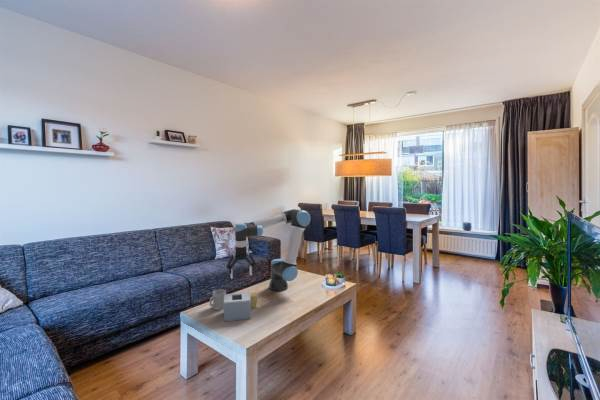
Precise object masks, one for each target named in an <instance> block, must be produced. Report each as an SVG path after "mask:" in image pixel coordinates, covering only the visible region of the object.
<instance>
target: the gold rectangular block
mask: <svg viewBox="0 0 600 400" xmlns="http://www.w3.org/2000/svg"><path fill="white" fill-rule="evenodd" d="M249 294H250V309H253V308H257V307H258V306H257V299H258V298H257V297H258V296H257V293H256V292H249Z"/></svg>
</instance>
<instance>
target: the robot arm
mask: <svg viewBox="0 0 600 400" xmlns="http://www.w3.org/2000/svg"><path fill="white" fill-rule="evenodd" d="M310 223H311V215H310V213H309V212H308V211H306V210H303V209H296V208H294V209H289V210H285V211H282V212H280V213H279V214H275V215H272V216H270V217H269V216H268V217H264V218H262V219H258V220H254V221H251V222H243V223H237V224H235V225H234V240H235V241H234V242H235V244H234V245H235V247H234V248H235V253H231V254H230V258H229V260H228V262H227V264H226V266H225V268H226V269H228V273H229V274H230V279H231V280H232V279H233V273H234V272H233V268H234V266H235V265H236V263H237V262H238V261H242V260H243V261H244V260H245V261H247V263H248V264H249V276H250V277H251V276H253V271H254V266H256V264H257V263H256V262H255V259H254V257H253V256H252V252H250V251H248V252H247V238H251V237H260V236H262V235H263V233H264V229H268V228H271V227H275V226H279V225H282V224H283V225H286V224H290V227H291V232H290V235H289V239H288V244H287V248H286V252H285V256H284V258H274V259H272V260H271V261H270V272H271V273H270V274H271V275H270V281H269V284H268V289H269V290H270V291H273V292H274V291H275V292H282V291H286V290H287V289H289V284H288V282H292V281H294V280H295V279H296V278H297V277H298V274H299V270H298V268H297V266H298V264H297V258H298V253H299V249H300V245H301V241H302V236H303V232H304V231H305V230H306V228H307V227H308V226H309V225H310ZM247 256H248V257H249V258H248V257H247ZM233 259H234V260H233Z"/></svg>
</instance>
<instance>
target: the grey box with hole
mask: <svg viewBox="0 0 600 400" xmlns="http://www.w3.org/2000/svg"><path fill="white" fill-rule="evenodd" d="M251 311H252V309H251V307H250V292H249V291H248V292H235V293H226V294H224V309H223V322H232V321H242V320H244V321H245V320H251V319H252V317H251Z"/></svg>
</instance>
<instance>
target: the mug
mask: <svg viewBox="0 0 600 400" xmlns="http://www.w3.org/2000/svg"><path fill="white" fill-rule="evenodd" d="M226 292H227V291H226V289H223V288H221V289H216V290H213V292H212V296H211V297H210V298H209V306H210V307H211V308H213V310H215V311H221V310H224V294H227V293H226Z"/></svg>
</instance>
